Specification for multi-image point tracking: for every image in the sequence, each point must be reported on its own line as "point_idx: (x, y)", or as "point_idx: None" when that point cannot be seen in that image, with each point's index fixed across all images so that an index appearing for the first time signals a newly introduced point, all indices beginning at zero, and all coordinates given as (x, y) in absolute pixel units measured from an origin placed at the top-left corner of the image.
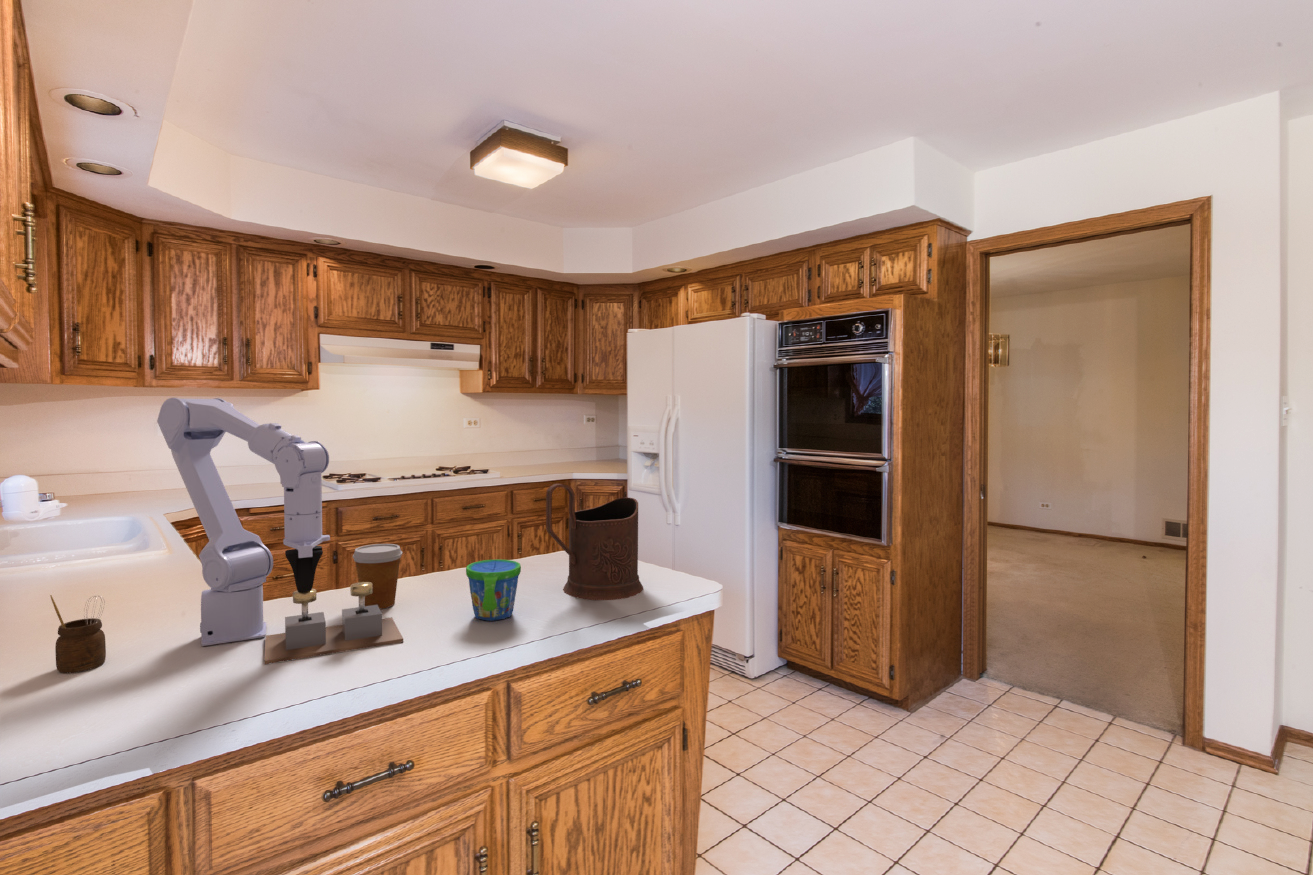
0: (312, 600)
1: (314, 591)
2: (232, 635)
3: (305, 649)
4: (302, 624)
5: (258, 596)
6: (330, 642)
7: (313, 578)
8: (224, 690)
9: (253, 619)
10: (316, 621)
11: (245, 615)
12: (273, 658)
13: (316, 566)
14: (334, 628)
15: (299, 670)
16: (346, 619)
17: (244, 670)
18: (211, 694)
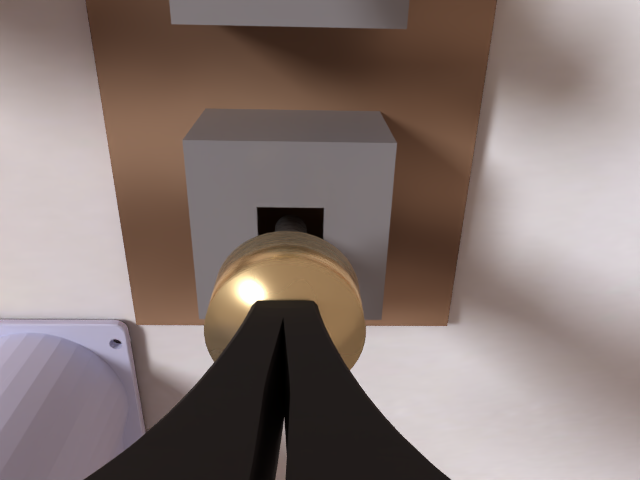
0: (345, 260)
1: (324, 277)
2: (123, 423)
3: (403, 195)
4: (379, 252)
5: (2, 473)
6: (367, 89)
7: (335, 351)
8: (598, 403)
9: (78, 405)
10: (363, 187)
11: (90, 449)
12: (439, 300)
13: (390, 425)
14: (146, 50)
15: (588, 217)
16: (405, 18)
17: (460, 366)
18: (603, 426)
